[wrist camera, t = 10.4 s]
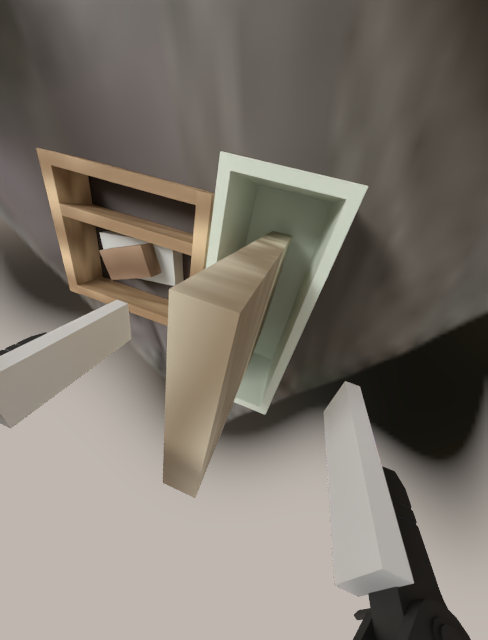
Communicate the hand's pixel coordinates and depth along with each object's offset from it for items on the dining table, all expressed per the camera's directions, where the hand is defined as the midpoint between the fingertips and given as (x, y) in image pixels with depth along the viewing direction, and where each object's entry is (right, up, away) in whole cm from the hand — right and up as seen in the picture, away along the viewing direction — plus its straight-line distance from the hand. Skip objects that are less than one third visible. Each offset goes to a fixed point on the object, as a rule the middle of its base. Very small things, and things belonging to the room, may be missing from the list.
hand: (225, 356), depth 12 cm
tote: (+4, +6, +12) cm, 14 cm away
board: (+4, +6, +12) cm, 13 cm away
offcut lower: (-11, +11, +15) cm, 22 cm away
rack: (-11, +11, +14) cm, 21 cm away
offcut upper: (-12, +10, +13) cm, 20 cm away
